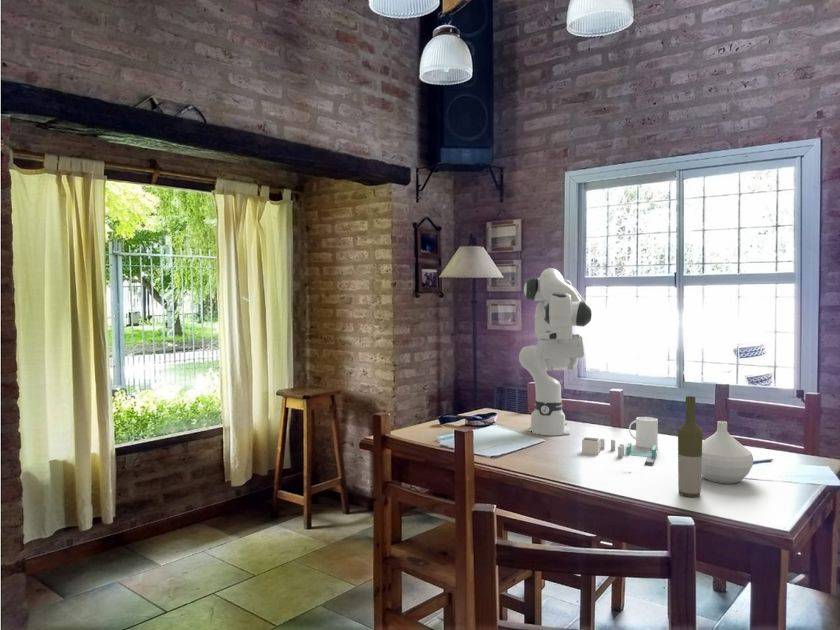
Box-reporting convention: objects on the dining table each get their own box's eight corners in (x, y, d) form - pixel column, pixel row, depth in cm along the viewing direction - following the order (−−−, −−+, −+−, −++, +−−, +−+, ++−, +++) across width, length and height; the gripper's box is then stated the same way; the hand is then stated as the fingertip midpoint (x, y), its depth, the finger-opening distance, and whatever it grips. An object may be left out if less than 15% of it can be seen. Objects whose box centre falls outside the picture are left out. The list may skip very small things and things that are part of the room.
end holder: (628, 450, 238) (628, 442, 238) (656, 453, 234) (656, 445, 234) (626, 454, 232) (626, 446, 232) (654, 457, 227) (654, 449, 227)
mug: (623, 446, 250) (624, 417, 249) (636, 443, 255) (636, 414, 254) (650, 452, 240) (650, 421, 240) (662, 449, 245) (662, 419, 245)
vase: (750, 491, 192) (751, 430, 192) (687, 482, 202) (687, 423, 201) (754, 476, 208) (755, 420, 207) (695, 468, 217) (696, 414, 217)
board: (586, 448, 246) (587, 435, 246) (656, 455, 235) (656, 442, 235) (579, 457, 233) (579, 443, 232) (653, 465, 221) (653, 451, 221)
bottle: (681, 489, 194) (682, 394, 193) (705, 494, 189) (706, 396, 188) (673, 495, 189) (674, 397, 188) (697, 500, 184) (698, 399, 183)
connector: (583, 450, 238) (584, 436, 238) (599, 452, 235) (600, 438, 235) (581, 452, 234) (582, 439, 234) (598, 454, 232) (598, 440, 231)
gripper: (577, 333, 246) (577, 368, 247) (534, 334, 238) (533, 370, 238) (587, 334, 241) (587, 369, 241) (543, 335, 232) (543, 371, 233)
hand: (560, 370), depth 240 cm, fingers open, 8 cm apart
